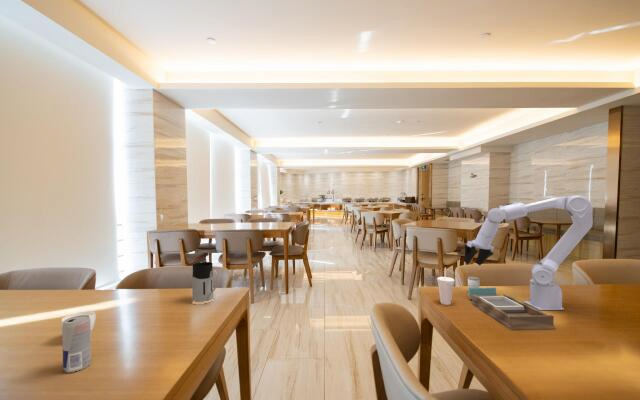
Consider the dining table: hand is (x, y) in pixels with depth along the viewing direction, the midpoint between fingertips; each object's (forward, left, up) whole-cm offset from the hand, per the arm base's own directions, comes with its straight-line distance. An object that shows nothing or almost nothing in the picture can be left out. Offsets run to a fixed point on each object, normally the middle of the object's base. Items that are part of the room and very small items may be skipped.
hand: (472, 263), depth 123 cm
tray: (-1, +14, -12) cm, 19 cm away
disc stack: (-3, -4, -14) cm, 14 cm away
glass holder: (+111, +3, -14) cm, 112 cm away
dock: (-1, +22, -14) cm, 26 cm away
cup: (+139, +30, -14) cm, 143 cm away
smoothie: (+16, +9, -14) cm, 23 cm away
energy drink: (+128, +46, -14) cm, 137 cm away
